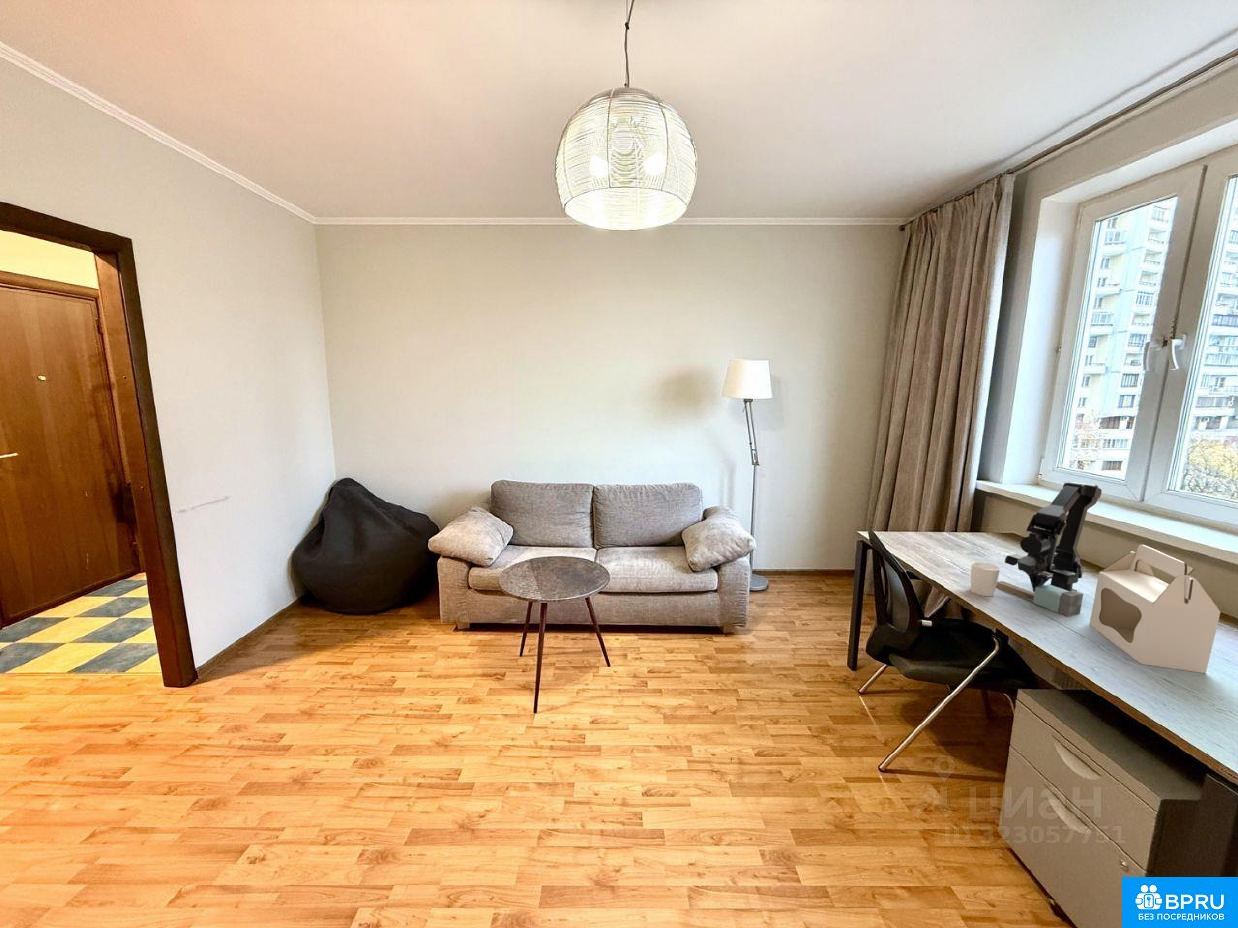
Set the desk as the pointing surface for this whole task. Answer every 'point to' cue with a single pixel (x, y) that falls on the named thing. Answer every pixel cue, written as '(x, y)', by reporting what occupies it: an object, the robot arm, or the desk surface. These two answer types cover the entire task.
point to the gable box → (1155, 611)
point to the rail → (1068, 602)
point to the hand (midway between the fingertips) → (1035, 591)
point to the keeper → (1048, 597)
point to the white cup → (984, 578)
